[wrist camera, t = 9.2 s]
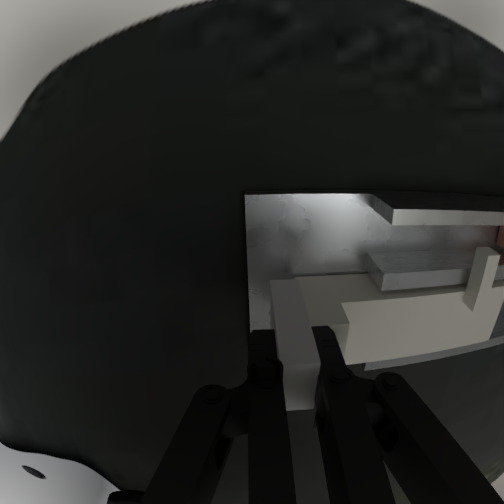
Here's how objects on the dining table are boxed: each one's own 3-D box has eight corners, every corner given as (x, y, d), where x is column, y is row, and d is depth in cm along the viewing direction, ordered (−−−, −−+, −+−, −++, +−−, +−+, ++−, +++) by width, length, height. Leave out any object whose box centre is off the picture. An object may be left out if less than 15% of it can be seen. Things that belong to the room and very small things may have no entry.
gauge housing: (251, 348, 22) (252, 427, 16) (244, 191, 18) (242, 235, 11) (524, 313, 22) (564, 356, 16) (554, 202, 18) (610, 231, 11)
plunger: (292, 337, 20) (301, 391, 16) (295, 230, 18) (310, 270, 13) (469, 317, 20) (500, 355, 16) (492, 228, 18) (536, 257, 13)
